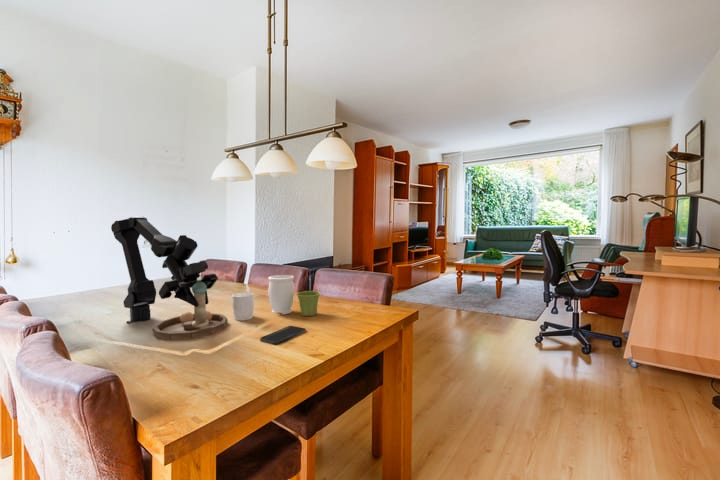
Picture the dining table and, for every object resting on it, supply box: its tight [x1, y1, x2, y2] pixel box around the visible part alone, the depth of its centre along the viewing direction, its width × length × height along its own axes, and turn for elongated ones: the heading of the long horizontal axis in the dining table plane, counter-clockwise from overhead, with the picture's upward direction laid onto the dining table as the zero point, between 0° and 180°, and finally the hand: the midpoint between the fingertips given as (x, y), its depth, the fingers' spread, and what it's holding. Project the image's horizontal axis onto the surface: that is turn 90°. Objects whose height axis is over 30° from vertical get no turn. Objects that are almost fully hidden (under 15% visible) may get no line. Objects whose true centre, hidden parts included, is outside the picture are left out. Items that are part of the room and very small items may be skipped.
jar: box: [267, 274, 295, 316], centre depth 139 cm, size 11×10×15 cm
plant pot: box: [296, 290, 321, 317], centre depth 136 cm, size 9×9×9 cm
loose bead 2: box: [206, 310, 212, 321], centre depth 122 cm, size 4×4×4 cm
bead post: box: [191, 282, 209, 328], centre depth 111 cm, size 5×5×15 cm
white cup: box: [231, 291, 255, 321], centre depth 128 cm, size 8×8×10 cm
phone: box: [259, 325, 307, 346], centre depth 111 cm, size 8×1×15 cm
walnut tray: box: [152, 312, 229, 341], centre depth 116 cm, size 22×22×3 cm
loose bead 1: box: [179, 311, 194, 324], centre depth 121 cm, size 4×4×4 cm
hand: (202, 304), depth 111 cm, fingers closed on bead post, 3 cm apart
